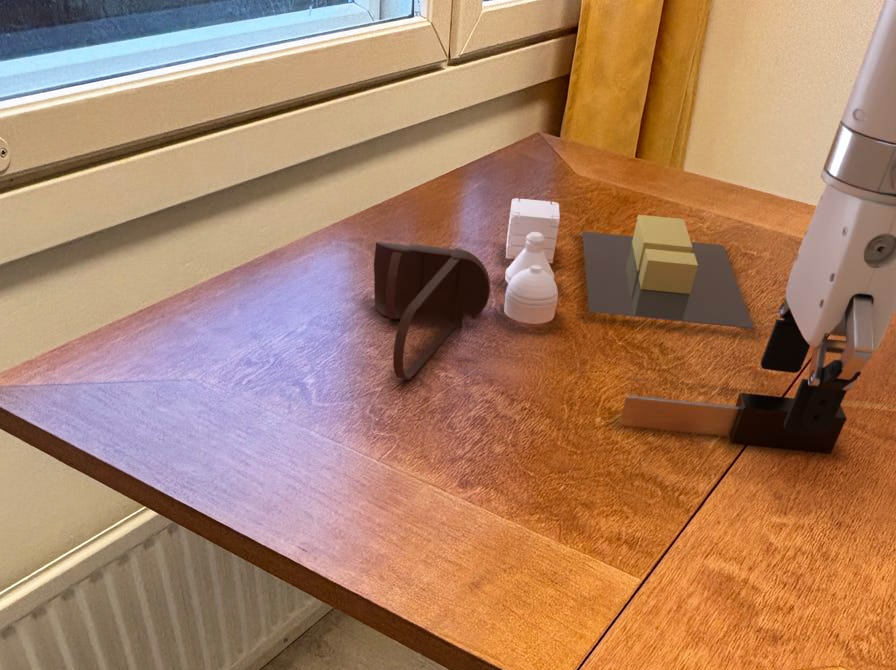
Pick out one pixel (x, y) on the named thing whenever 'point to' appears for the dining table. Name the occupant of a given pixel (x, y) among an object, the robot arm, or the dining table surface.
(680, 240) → the butter block
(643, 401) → the knife
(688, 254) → the butter pat
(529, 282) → the container set
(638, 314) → the slate board
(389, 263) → the brown basket
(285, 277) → the dining table surface
